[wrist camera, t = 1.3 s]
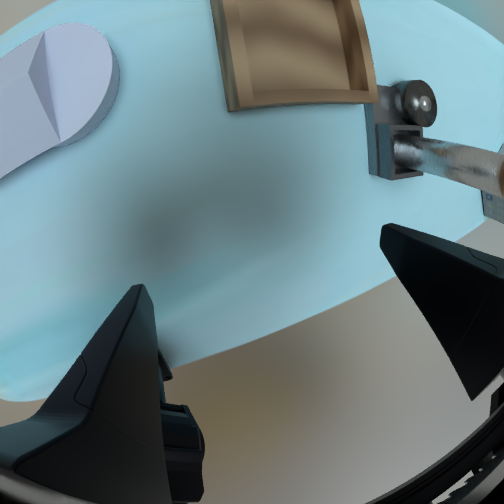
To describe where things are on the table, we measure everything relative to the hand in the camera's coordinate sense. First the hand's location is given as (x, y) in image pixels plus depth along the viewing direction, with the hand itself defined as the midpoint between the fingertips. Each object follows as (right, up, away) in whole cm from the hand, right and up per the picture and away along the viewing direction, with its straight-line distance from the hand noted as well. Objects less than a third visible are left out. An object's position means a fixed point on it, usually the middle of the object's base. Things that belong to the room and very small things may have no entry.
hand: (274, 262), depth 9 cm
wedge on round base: (-17, +12, +4) cm, 21 cm away
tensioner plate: (+14, +14, +14) cm, 24 cm away
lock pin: (+13, +11, +14) cm, 22 cm away
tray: (+2, +18, +8) cm, 19 cm away
